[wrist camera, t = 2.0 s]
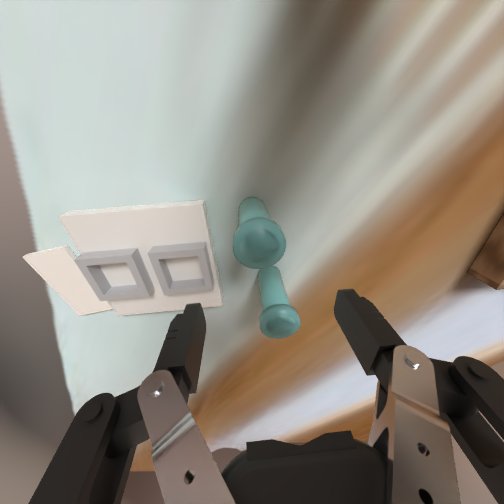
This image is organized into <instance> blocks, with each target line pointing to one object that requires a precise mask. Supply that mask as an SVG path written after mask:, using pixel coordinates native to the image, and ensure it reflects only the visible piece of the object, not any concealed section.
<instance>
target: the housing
mask: <svg viewBox="0 0 504 504" xmlns="http://www.w3.org/2000/svg"><path fill="white" fill-rule="evenodd" d="M58 218H59V220H60V221H61V223H62V225H63V226H64V228H65V229H66V231H67V233H68V234H69V236H70V238H71V239H72V241H73V243H74V244H75V246H76V248H77V249H78V251H79V252H80V254H81V255H80V256H78V257H77V258H76V259H74V261H75V263H76V264H77V266H78V267H79V269H80V271H81V272H82V274H83V275H84V277H85V278H86V280H87V282H88V283H89V285H90V286H91V288H92V289H93V291H94V292H95V294H96V296H97V297H98V299H99V300H100V301H108V300H109V302H110V303H111V305H112V307H113V308H114V310H115V312H116V313H117V315H118V316H122V315H132V314H143V313H154V312H164V311H175V310H185V306H186V304H191V303H201V306H202V308H207V307H217V306H223V292H222V287H221V282H220V277H219V272H218V266H217V261H216V256H215V251H214V245H213V240H212V235H211V230H210V225H209V219H208V214H207V209H206V204H205V200H195V201H183V202H171V203H159V204H147V205H135V206H123V207H111V208H99V209H87V210H75V211H69V212H67V213H64V214H62V215H60V216H58Z"/></svg>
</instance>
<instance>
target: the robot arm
mask: <svg viewBox="0 0 504 504" xmlns="http://www.w3.org/2000/svg"><path fill="white" fill-rule="evenodd" d="M334 314H335V318H336V320H337V322H338V324H339V325H340V327H341V329H342V331H343V333H344V335H345V336H346V338H347V340H348V342H349V344H350V346H351V347H352V349H353V351H354V353H355V355H356V357H357V358H358V360H359V362H360V364H361V366H362V368H363V369H364V371H365V373H366V375H367V376H368V375H376V377H377V378H378V380H379V381H378V383H377V391H376V401H375V410H374V419H373V425H372V429H371V432H370V436H369V442H368V444H366V443H364V442H362V441H359V440H356V439H353V436H352V433H351V431H342V432H333V433H325V434H323V435H321V436H319V437H317V438H315V439H313V440H311V441H310V442H308V443H306V444H304V445H301V446H299V445H294V444H290V443H285V442H281V441H277V440H273V439H271V440H262V441H254V442H246V445H247V450H245V451H243V452H241V453H240V454H239V455H237V456H236V457H235V458H234V459H233V460H232V461H230V463H229V464H228V465H227V466H226V467H225V469H224V470H223V472H222V473H221V472H220V470H219V468H218V466H217V464H216V462H215V460H214V458H213V456H212V454H211V452H210V450H209V448H208V446H207V444H206V442H205V440H204V438H203V436H202V434H201V432H200V430H199V428H198V426H197V424H196V422H195V420H194V418H193V416H192V414H191V412H190V410H189V408H188V406H187V402H188V397H189V394H191V393H196V390H197V384H198V377H199V371H200V365H201V359H202V352H203V346H204V340H205V334H206V320H205V317H204V313H203V309H202V306H201V303H191V304H186V306H185V310H184V313H183V314H177V315H176V317H175V318H174V319H173V320H172V322H171V324H170V326H169V329H168V333H167V335H166V338H165V340H164V343H163V346H162V349H161V352H160V355H159V357H158V360H157V363H156V366H155V368H154V371H153V372H152V374H150V375H149V376H148V377H147V378H145V380H144V381H143V382H142V384H141V385H140V386H139V387H137V388H135V389H133V390H130V391H128V392H126V393H123V394H121V395H119V396H117V397H114V396H113V395H112V394H110V393H102V394H99V395H96V396H95V397H93V398H91V399H90V400H89V401H87V402H86V403H85V404H84V405H83V406H82V407H81V408H80V410H79V411H78V412H77V414H76V416H75V417H74V419H73V421H72V423H71V425H70V427H69V429H68V431H67V433H66V434H65V436H64V438H63V440H62V442H61V444H60V445H59V447H58V449H57V451H56V453H55V455H54V457H53V459H52V461H51V462H50V464H49V466H48V468H47V470H46V472H45V474H44V476H43V478H42V479H41V481H40V483H39V485H38V487H37V489H36V491H35V492H34V495H33V496H32V498H31V500H30V502H29V504H120V503H121V500H122V496H123V493H124V489H125V486H126V482H127V478H128V475H129V471H130V468H131V464H132V461H133V457H134V454H135V450H136V447H137V445H138V444H140V443H142V442H144V441H146V440H148V439H150V441H151V445H152V449H153V451H152V461H153V465H154V468H155V471H156V475H157V478H158V482H159V485H160V488H161V492H162V495H163V499H164V502H165V504H461V501H460V494H459V488H458V481H457V474H456V467H455V460H454V454H453V446H452V439H451V434H452V436H453V437H454V439H455V440H456V442H457V443H458V445H459V446H460V448H461V449H462V451H463V452H464V453H465V455H466V456H467V458H468V459H469V461H470V462H471V464H472V465H473V467H474V468H475V470H476V471H477V473H478V474H479V476H480V477H481V479H482V480H483V482H484V483H485V484H486V486H487V487H488V489H489V491H490V492H491V494H492V495H493V497H494V498H495V499H496V501H497V502H498V504H504V442H503V441H502V440H501V439H500V437H499V436H498V435H497V434H496V433H495V431H494V430H493V429H492V428H491V427H490V425H489V424H488V423H487V422H486V420H485V419H484V418H483V417H482V416H481V414H480V413H479V411H480V412H481V413H482V414H483V415H484V417H485V418H486V419H487V420H488V421H489V423H490V424H491V425H492V426H493V427H494V429H495V430H496V431H497V432H498V433H499V435H500V436H501V437H502V438H503V439H504V379H503V378H501V376H500V375H499V374H498V373H497V372H495V371H494V370H493V369H492V368H491V367H489V366H488V365H486V364H485V363H483V362H481V361H479V360H477V359H474V358H471V357H466V356H460V357H457V358H456V359H455V360H454V362H453V363H452V362H447V361H442V360H436V359H431V358H428V357H427V356H426V355H425V354H424V353H422V352H421V351H420V350H418V349H416V348H414V347H411V346H407V345H406V344H405V342H404V341H403V340H402V339H401V338H400V336H399V335H398V334H397V333H396V331H395V330H394V329H393V328H392V327H391V325H390V324H389V323H388V322H387V320H386V319H384V317H383V316H382V314H381V313H380V312H379V311H378V309H377V308H376V307H375V306H374V304H373V303H371V302H370V301H369V300H367V299H366V298H364V297H359V295H358V294H357V293H356V292H355V290H354V289H343V290H338V292H337V296H336V301H335V306H334Z"/></svg>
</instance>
